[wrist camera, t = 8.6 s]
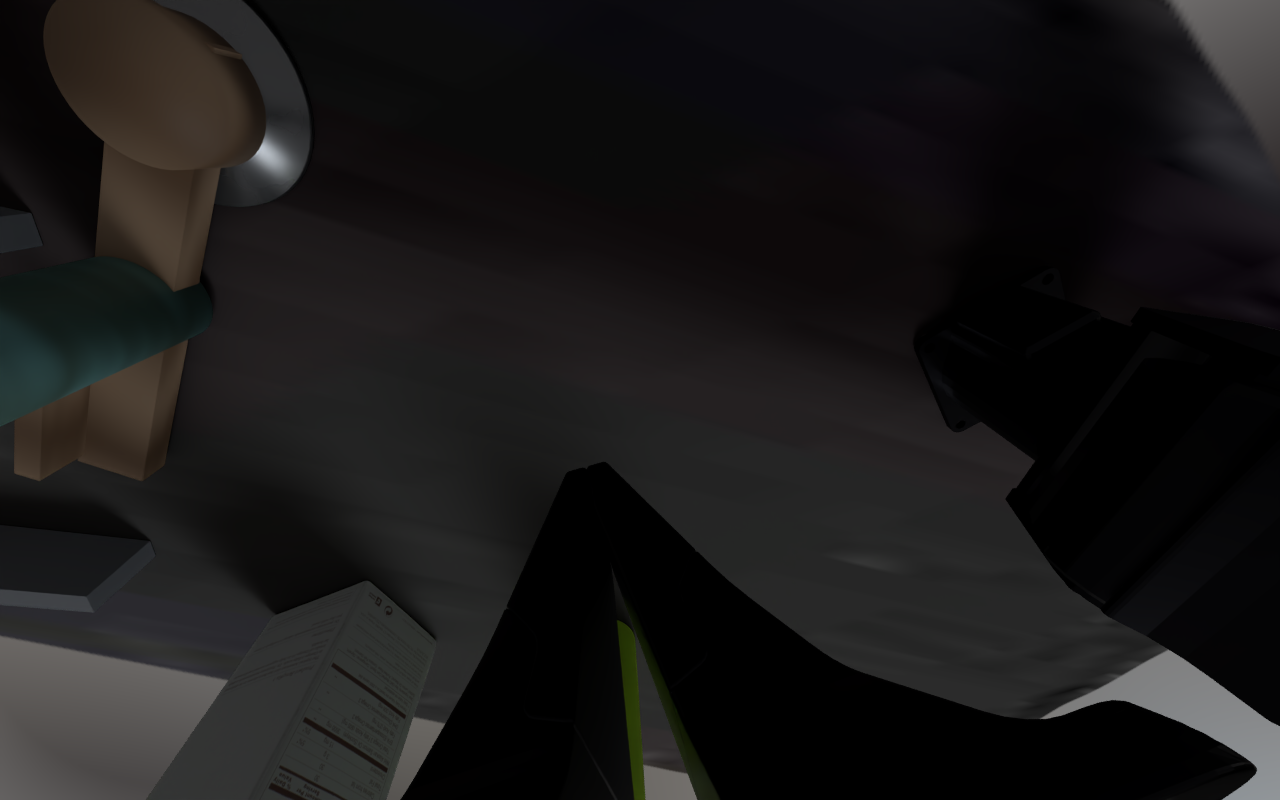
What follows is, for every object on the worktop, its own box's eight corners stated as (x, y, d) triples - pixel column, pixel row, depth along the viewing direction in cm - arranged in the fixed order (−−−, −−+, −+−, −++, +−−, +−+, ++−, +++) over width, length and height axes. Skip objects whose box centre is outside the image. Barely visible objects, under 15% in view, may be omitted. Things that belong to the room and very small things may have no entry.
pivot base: (24, -60, 13) (12, -64, 13) (279, -30, 14) (273, -33, 14) (136, 198, 17) (128, 199, 16) (336, 212, 17) (332, 213, 17)
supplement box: (351, 671, 32) (218, 951, 21) (270, 612, 28) (57, 911, 17) (442, 641, 31) (353, 917, 20) (371, 575, 27) (213, 868, 16)
